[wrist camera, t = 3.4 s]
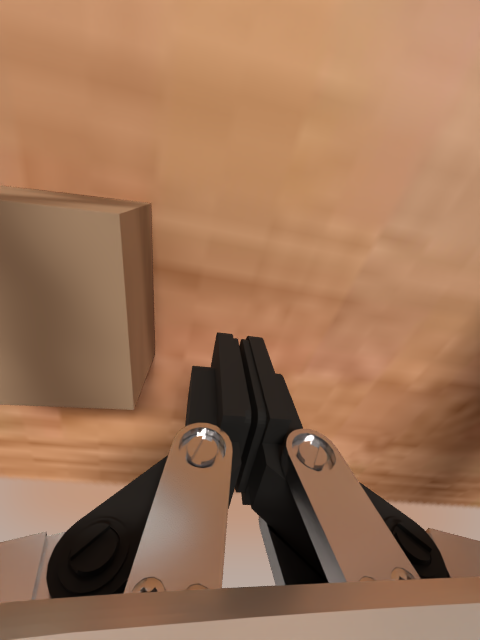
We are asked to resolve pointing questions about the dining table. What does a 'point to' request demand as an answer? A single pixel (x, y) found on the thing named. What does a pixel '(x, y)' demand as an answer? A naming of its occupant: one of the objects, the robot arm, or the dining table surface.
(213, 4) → the dining table surface
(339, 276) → the dining table surface
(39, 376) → the walnut block
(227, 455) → the robot arm
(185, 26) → the dining table surface
